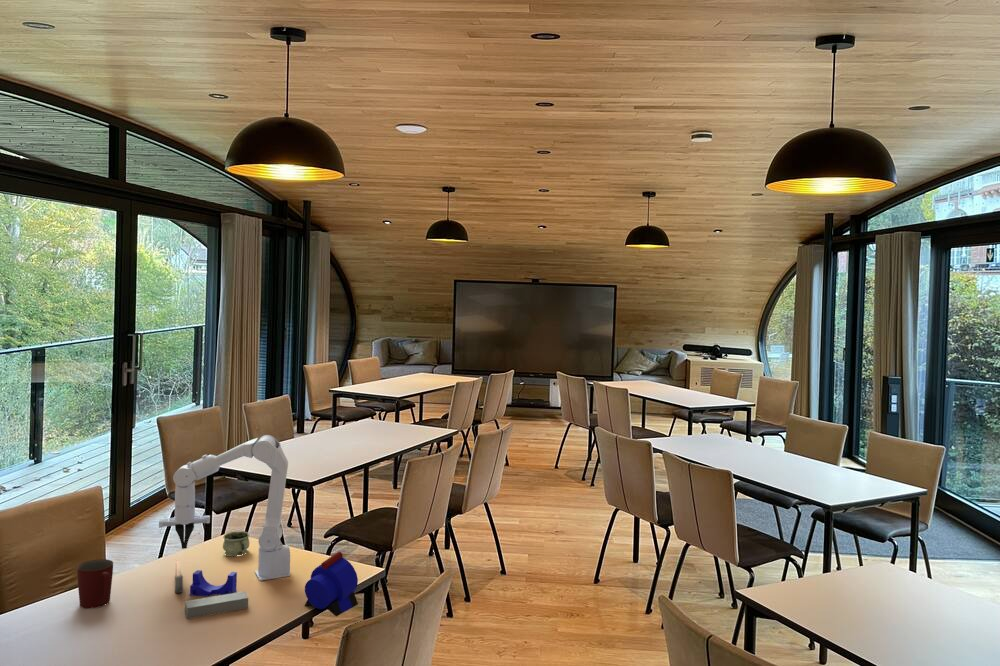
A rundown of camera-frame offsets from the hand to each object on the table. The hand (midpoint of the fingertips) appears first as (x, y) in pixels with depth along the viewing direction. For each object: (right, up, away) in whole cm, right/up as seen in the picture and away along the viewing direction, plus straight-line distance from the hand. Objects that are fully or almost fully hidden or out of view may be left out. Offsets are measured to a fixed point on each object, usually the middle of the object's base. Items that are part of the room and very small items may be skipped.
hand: (184, 547), depth 225 cm
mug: (-15, -10, -21) cm, 28 cm away
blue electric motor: (+49, -13, -16) cm, 53 cm away
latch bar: (0, -9, -5) cm, 10 cm away
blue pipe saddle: (+13, -11, -10) cm, 20 cm away
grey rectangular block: (+19, -11, -21) cm, 30 cm away
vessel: (+8, -9, +23) cm, 25 cm away
